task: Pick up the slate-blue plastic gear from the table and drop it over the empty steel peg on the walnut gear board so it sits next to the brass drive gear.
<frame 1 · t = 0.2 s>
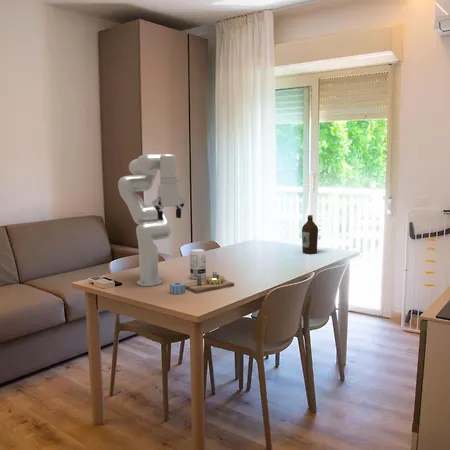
hand: (169, 218, 224), 36 cm above the table, tool pointing down, fingers open, 9 cm apart
olive oil: (309, 253, 323), on the table
blue gear: (177, 292, 232), on the table
brass drive gear: (214, 285, 244), resting on gear board
supplement can: (198, 278, 259), on the table
gear board: (207, 286, 242), on the table
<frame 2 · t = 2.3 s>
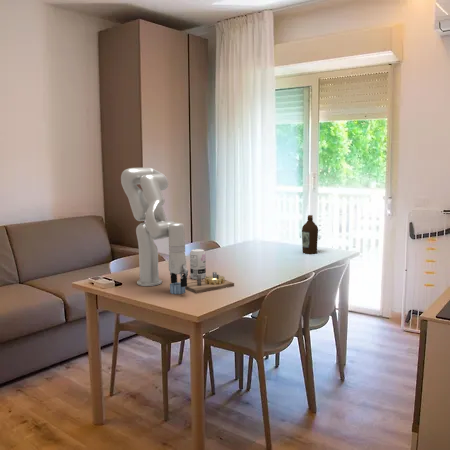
hand: (178, 284, 231), 4 cm above the table, tool pointing down, fingers open, 9 cm apart
blue gear: (177, 292, 232), on the table, touching gripper
everything else where it was.
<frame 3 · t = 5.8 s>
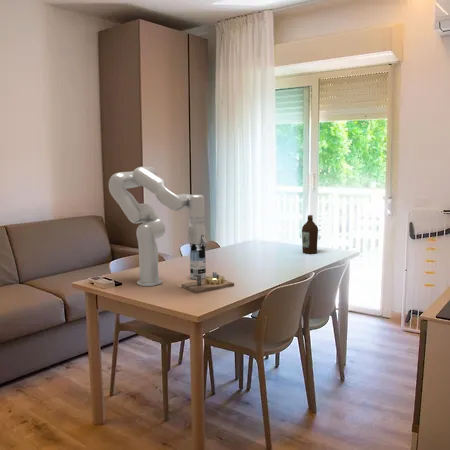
hand: (198, 256, 236), 16 cm above the table, tool pointing down, fingers closed on blue gear, 7 cm apart
blue gear: (197, 259, 236), point 15 cm above the table, touching gripper
everything else where it was.
when the fingers open (4 cm above the table, at t = 8.5 s): blue gear stays where it is, resting on gear board.
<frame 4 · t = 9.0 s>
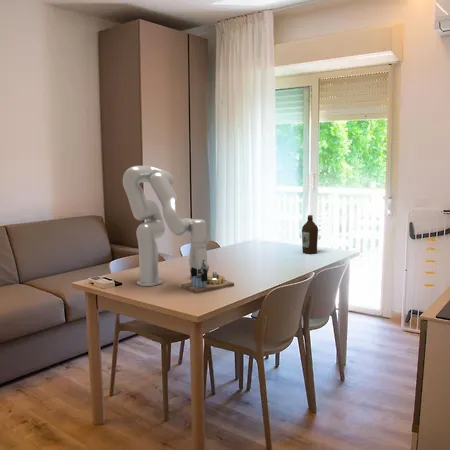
hand: (199, 279, 238), 5 cm above the table, tool pointing down, fingers open, 9 cm apart
blue gear: (199, 285, 239), point 1 cm above the table, touching gear board
everything else where it was.
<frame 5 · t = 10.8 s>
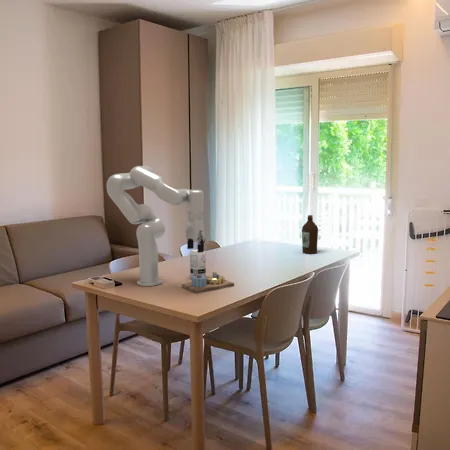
hand: (195, 250, 237), 19 cm above the table, tool pointing down, fingers open, 9 cm apart
nothing on the table moved.
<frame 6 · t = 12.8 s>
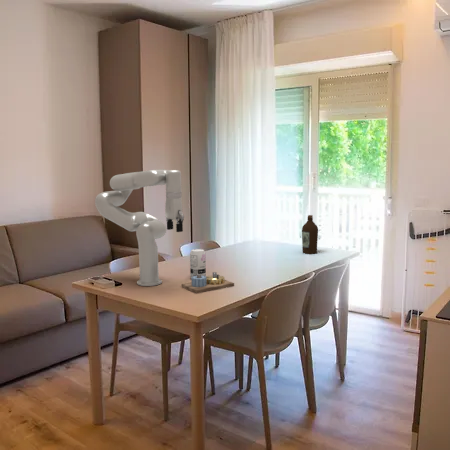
hand: (174, 230, 238), 28 cm above the table, tool pointing down, fingers open, 9 cm apart
nothing on the table moved.
at the end: blue gear 0.1 cm from the target spot on the gear board, point 1.5 cm above the gear board's base; blue gear tilted 0°; the gripper is holding nothing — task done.
